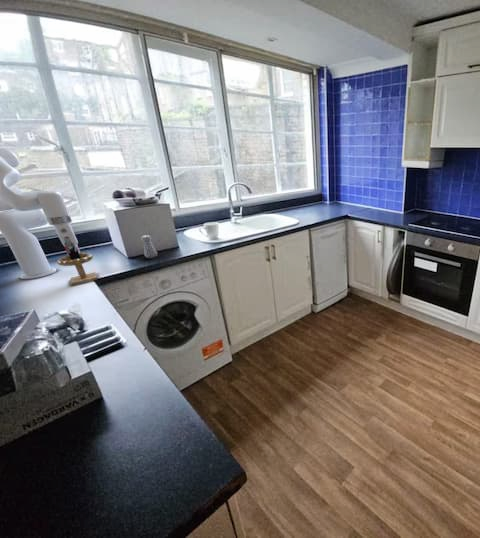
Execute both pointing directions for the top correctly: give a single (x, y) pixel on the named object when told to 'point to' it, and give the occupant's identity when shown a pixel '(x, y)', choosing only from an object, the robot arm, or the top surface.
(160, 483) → the top surface
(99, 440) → the top surface
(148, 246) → the salt shaker
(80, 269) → the peg stand
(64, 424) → the top surface
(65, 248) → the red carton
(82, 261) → the ring
